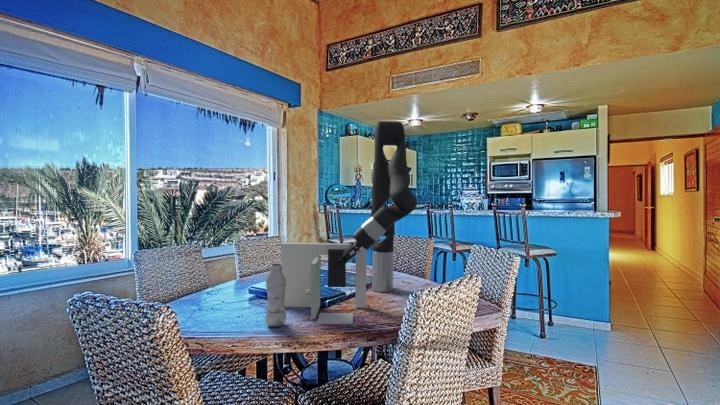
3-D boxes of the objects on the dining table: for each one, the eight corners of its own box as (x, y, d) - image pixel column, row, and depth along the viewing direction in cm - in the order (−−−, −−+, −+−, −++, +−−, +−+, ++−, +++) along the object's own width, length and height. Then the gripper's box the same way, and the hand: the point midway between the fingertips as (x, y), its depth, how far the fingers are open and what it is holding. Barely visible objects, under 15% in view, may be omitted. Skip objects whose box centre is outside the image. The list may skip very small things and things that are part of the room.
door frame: (282, 305, 145) (282, 242, 144) (365, 306, 145) (366, 243, 144) (269, 323, 126) (269, 251, 125) (366, 324, 126) (366, 252, 125)
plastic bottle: (267, 322, 127) (267, 262, 126) (287, 321, 128) (287, 262, 127) (263, 329, 121) (263, 267, 120) (285, 329, 121) (285, 266, 121)
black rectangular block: (345, 287, 126) (345, 251, 126) (327, 287, 126) (327, 251, 125) (345, 280, 135) (345, 247, 135) (328, 280, 135) (328, 247, 134)
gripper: (361, 223, 137) (327, 256, 137) (361, 227, 123) (323, 264, 123) (376, 237, 137) (342, 271, 138) (378, 243, 123) (340, 280, 123)
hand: (333, 267), depth 130 cm, fingers closed on black rectangular block, 3 cm apart
